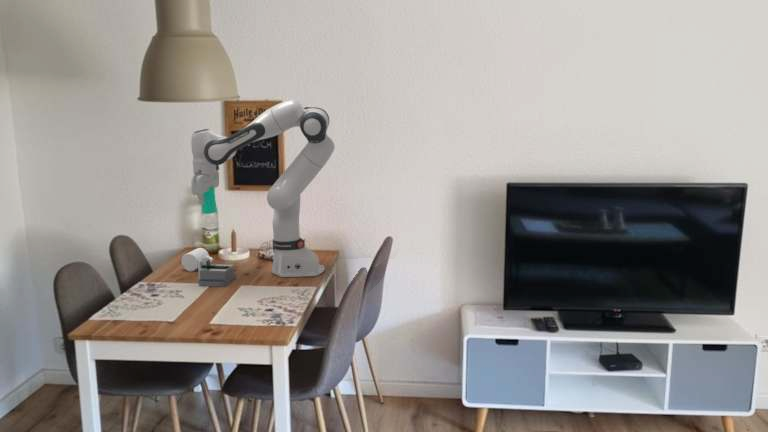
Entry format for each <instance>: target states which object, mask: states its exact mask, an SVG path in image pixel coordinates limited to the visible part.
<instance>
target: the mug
mask: <svg viewBox="0 0 768 432" xmlns="http://www.w3.org/2000/svg"><path fill="white" fill-rule="evenodd" d="M203 258H206V259H207V260H210V263H212V262H213V261H214V258H213V257H212V256H210V254H209V252H208V251H207V250H206V249H205V248H203V247H197V248H195V249H193V250H191V251H189V252H187V253H185V254H183V256H182V257H181V266H182V268H184V269H185V271H188V272H195V271H197V270H198V262H199V261H200V260H202V259H203Z"/></svg>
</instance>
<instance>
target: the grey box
mask: <svg viewBox="0 0 768 432" xmlns="http://www.w3.org/2000/svg"><path fill="white" fill-rule="evenodd" d="M210 267H211V269H208V268H207V266H206V268H204V269H200V271H199V272H200V279H199V280H198V286H199V287H215V288H217V287H218V288H222V287H223V288H225V287H227V286H228V285H229V284H230V283H231V282H233V281H234V280H235V279H237V278H236V277H237V276H236V272H235V267H234V264H224V263H223V264H221V263H220V264H219V263H210Z"/></svg>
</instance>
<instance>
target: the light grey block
mask: <svg viewBox="0 0 768 432" xmlns="http://www.w3.org/2000/svg"><path fill="white" fill-rule="evenodd" d="M210 264H211V262H210V260H207V259H206V258H203V259H202V260H200V261H199V262H198V269H197V271H198V272H197V273H198V280H200V272H199V271H200V269H204V268H206V266H207V268H208V269H211V267H210Z"/></svg>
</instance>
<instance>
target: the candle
mask: <svg viewBox="0 0 768 432" xmlns="http://www.w3.org/2000/svg"><path fill="white" fill-rule="evenodd" d="M203 199H205V203H204V204H200V205H201V213H202V214H204V215H205V214H206V215H209V214H211V215H212V214H214V213H216V212H217V203H216V201H217V200H216V192H214V187H213V188H211V189H209V191H207V192H205V193H203Z"/></svg>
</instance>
